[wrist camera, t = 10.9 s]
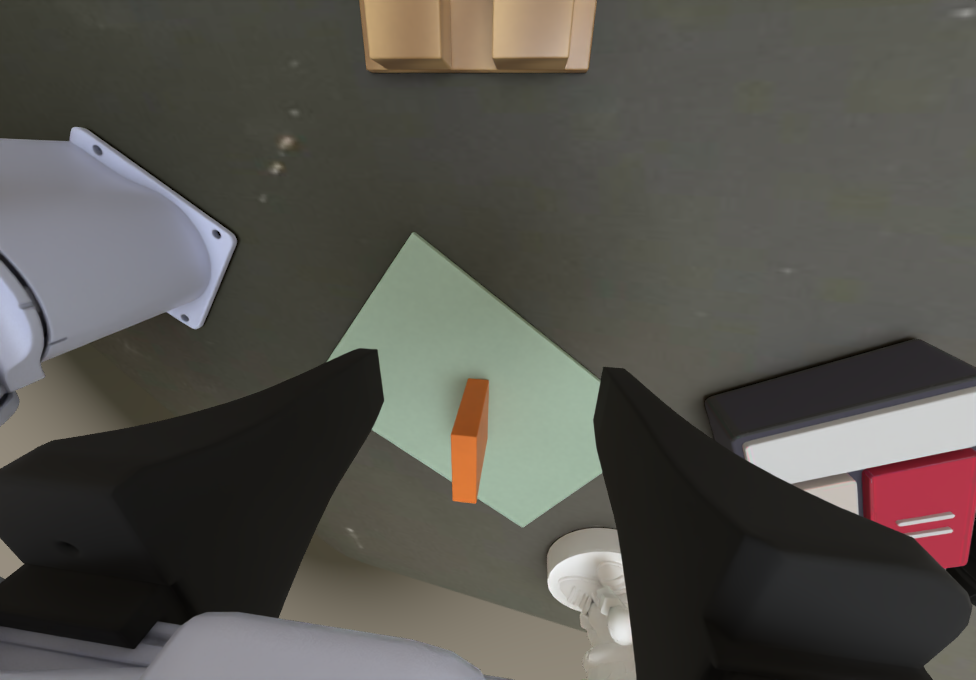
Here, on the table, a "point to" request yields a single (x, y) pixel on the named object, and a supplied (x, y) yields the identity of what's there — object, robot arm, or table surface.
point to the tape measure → (967, 570)
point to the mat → (477, 355)
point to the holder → (477, 36)
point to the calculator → (870, 439)
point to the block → (469, 441)
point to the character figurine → (595, 598)
